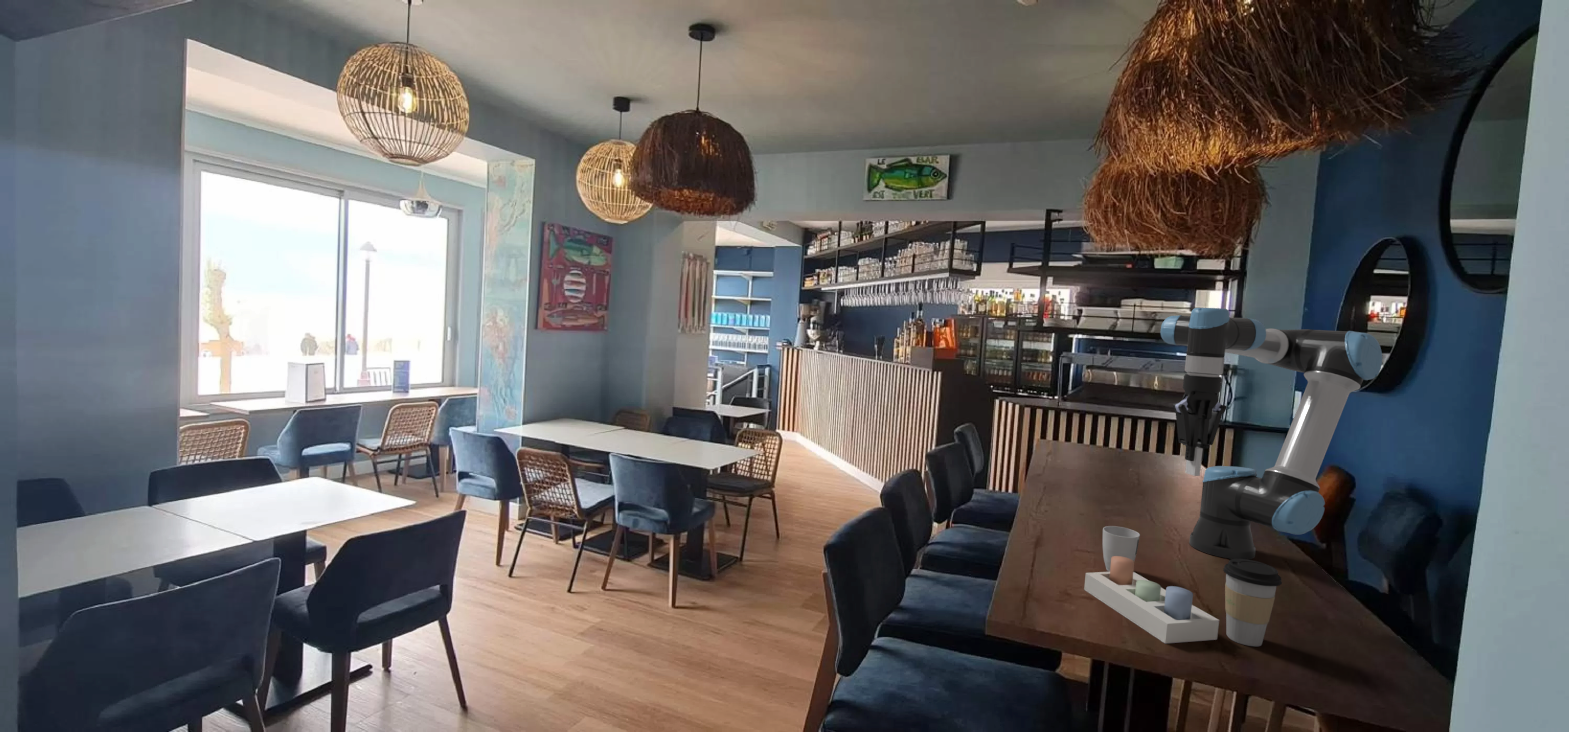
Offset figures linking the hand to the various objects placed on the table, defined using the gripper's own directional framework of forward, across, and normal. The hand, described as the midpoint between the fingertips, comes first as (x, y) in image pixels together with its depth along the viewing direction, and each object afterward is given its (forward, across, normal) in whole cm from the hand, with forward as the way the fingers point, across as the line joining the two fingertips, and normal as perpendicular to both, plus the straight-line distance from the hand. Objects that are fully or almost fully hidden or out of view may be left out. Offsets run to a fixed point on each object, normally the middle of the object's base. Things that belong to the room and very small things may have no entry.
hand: (1192, 474), depth 155 cm
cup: (+27, +11, -8) cm, 30 cm away
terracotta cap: (+23, +21, +5) cm, 32 cm away
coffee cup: (+27, +9, +26) cm, 38 cm away
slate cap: (+23, +21, +21) cm, 38 cm away
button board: (+26, +21, +13) cm, 36 cm away
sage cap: (+25, +21, +13) cm, 35 cm away
